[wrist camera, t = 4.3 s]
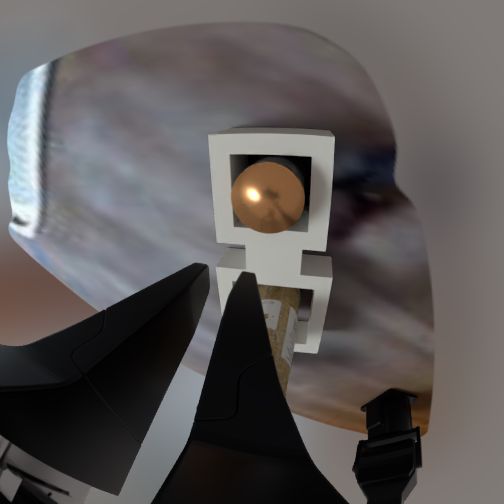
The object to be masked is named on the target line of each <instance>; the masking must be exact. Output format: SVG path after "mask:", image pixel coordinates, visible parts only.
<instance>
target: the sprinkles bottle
mask: <svg viewBox="0 0 504 504" xmlns="http://www.w3.org/2000/svg"><path fill="white" fill-rule="evenodd" d="M258 287H259V292H260V297H261V301H262V306H263V311H264V315H265V320H266V325H267V329H268V334H269V339H270V343H271V348H272V352H273V354H272V355H273V356H274V361H275V365H276V369H277V373H278V377H279V381H280V384H281V387H282V390H283V393H284V396H286V389H287V383H288V378H289V374H290V371H291V365H292V358H293V352H294V345H295V338H296V330H297V323H298V318H297V314H298V308H299V303H300V301H301V292H300V289H299V288H293V287H282V286H272V285H263V284H258Z"/></svg>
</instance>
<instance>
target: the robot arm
mask: <svg viewBox="0 0 504 504" xmlns="http://www.w3.org/2000/svg"><path fill="white" fill-rule="evenodd" d="M209 289H210V279H209V267H208V265H207V264H202V263H193V264H191V265H189V266H187V267H185V268H183V269H181V270H179V271H178V272H176V273H174V274H172V275H170V276H168V277H166V278H164V279H162V280H160V281H158V282H156V283H154V284H152V285H150V286H148V287H146V288H144V289H143V290H141V291H139V292H137V293H135V294H133V295H131V296H129V297H127V298H125V299H123V300H121V301H120V302H118V303H116V304H114V305H112V306H110V307H108V308H106V310H102V311H100V312H99V313H97V314H95V315H93V316H91V317H89V318H87V319H85V320H83V321H81V322H79V323H77V324H75V325H72V326H70V327H68V328H66V329H64V330H61V331H59V332H56V333H54V334H52V335H49V336H47V337H45V338H42V339H40V340H38V341H36V342H33V343H31V344H28V345H24V346H6V345H1V344H0V504H83V503H84V501H85V499H86V497H87V495H88V493H89V490H90V488H91V486H92V487H95V488H97V489H100V490H102V491H105V492H108V493H111V494H114V495H117V496H118V495H119V493H120V491H121V489H122V487H123V484H124V482H125V480H126V478H127V475H128V473H129V471H130V469H131V467H132V465H133V462H134V460H135V458H136V456H137V454H138V451H139V449H140V447H141V444H142V442H143V440H144V438H145V436H146V434H147V431H148V430H149V427H150V425H151V423H152V421H153V419H154V417H155V415H156V412H157V410H158V408H159V406H160V404H161V402H162V400H163V398H164V395H165V393H166V391H167V389H168V387H169V385H170V383H171V381H172V379H173V377H174V375H175V373H176V371H177V368H178V367H179V364H180V362H181V360H182V358H183V356H184V354H185V352H186V350H187V348H188V346H189V344H190V342H191V340H192V338H193V335H194V333H195V331H196V328H197V325H198V322H199V319H200V317H201V314H202V311H203V308H204V305H205V302H206V299H207V296H208V294H209ZM272 354H273V352H272V348H271V343H270V339H269V334H268V329H267V325H266V320H265V315H264V311H263V306H262V301H261V297H260V292H259V287H258V283H257V278H256V274H255V273H252V272H246V271H242V272H241V273H240V275H239V277H238V279H237V280H236V282H235V284H234V286H233V288H232V289H231V291H230V293H229V295H228V298H227V301H226V305H225V309H224V312H223V316H222V319H221V323H220V326H219V330H218V334H217V337H216V341H215V344H214V348H213V352H212V355H211V359H210V363H209V366H208V370H207V374H206V377H205V381H204V385H203V388H202V392H201V396H200V400H199V403H198V407H197V411H196V415H195V418H194V423H193V426H192V429H191V432H190V436H189V438H188V441H187V443H186V445H185V447H184V449H183V451H182V452H181V454H180V456H179V458H178V459H177V461H176V463H175V464H174V466H173V468H172V469H171V471H170V473H169V475H168V476H167V478H166V480H165V481H164V483H163V485H162V486H161V488H160V489H159V491H158V493H157V494H156V496H155V498H154V499H153V501H152V503H151V504H349V503H348V502H347V501H346V500H345V499H344V498H343V496H342V495H341V494H340V493H339V492H338V491H337V490H336V489H335V488H334V487H333V485H332V484H331V483H330V482H329V481H328V480H327V479H326V478H325V477H324V475H323V474H322V473H321V472H320V471H319V469H318V468H317V467H316V465H315V464H314V462H313V461H312V459H311V457H310V455H309V453H308V452H307V449H306V447H305V445H304V443H303V440H302V438H301V436H300V433H299V431H298V428H297V426H296V423H295V421H294V419H293V416H292V414H291V411H290V409H289V406H288V404H287V401H286V398H285V396H284V393H283V390H282V387H281V384H280V381H279V377H278V373H277V369H276V365H275V361H274V356H273V355H272ZM416 400H417V396H414V395H410V394H407V393H403V392H400V391H396V390H393V389H390V390H387V391H386V392H384V393H383V394H381V395H380V396H378V397H377V398H375V399H374V400H372V401H370V402H369V403H367V404H366V405H364V406H362V407H361V411H363V412H366V429H367V430H368V440H360V441H359V444H358V445H357V452H356V458H355V462H354V465H353V468H352V471H353V472H354V473H355V476H356V479H357V483H358V485H359V487H360V488H361V490H362V492H363V494H364V496H365V497H366V499H367V504H404V501H405V500H406V498H407V497H408V496H409V494H410V493H411V491H412V490H413V488H414V487H415V486H416V484H417V468H421V467H422V447H421V435H420V427H419V426H418V427H416V428H413V427H412V417H411V408H410V404H412V403H413V402H415V401H416ZM415 441H417V442H415Z"/></svg>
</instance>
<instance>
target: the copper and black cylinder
mask: <svg viewBox="0 0 504 504" xmlns="http://www.w3.org/2000/svg"><path fill="white" fill-rule="evenodd" d="M305 179H306V172H305V168H304V166H303V164H302V162H301V161H300V159H299V158H298V157H297V156H292V155H264V154H263V155H262V156H261V157H260V158H259V159H258V160H257V161H256V162H255V163H254V164H252V165H251V166H249V167H247V168H246V169H245V170H244V171H243V172H242V173H241V174H240V175H239V176H238V177H237V179H236V180H235V182H234V184H233V187H232V190H231V203H232V207H233V210H234V212H235V214H236V215H237V217H238V218H239V220H240V221H241V222H242V223H243V224H245V225H246V226H247V227H249V228H250V229H252V230H254V231H257V232H260V233H266V234H274V233H279V232H283V231H285V230H287V229H289V228H290V227H292V226H293V225H294V224H295V223H296V222H297V221H298V220H299V218H300V216H301V214H302V212H303V209H304V202H305V191H304V188H305Z"/></svg>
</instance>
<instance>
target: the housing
mask: <svg viewBox="0 0 504 504" xmlns="http://www.w3.org/2000/svg"><path fill="white" fill-rule="evenodd" d="M208 137H209V152H210V166H211V179H212V191H213V203H214V214H215V225H216V235H217V243H230V244H242V245H245V249H237V248H227V249H226V251H225V252H224V254H223V256H222V257H221V259H220V261H219V262H218V264H217V266H216V271H217V279H218V287H219V295H220V303H221V310H222V316H223V312H224V309H225V305H226V301H227V298H228V295H229V293H230V291H231V289H232V288H233V286H234V284H235V282H236V280H237V279H238V277H239V275H240V273H241V272H242V271H246V272H252V273H255V274H256V278H257V283H258V284H263V285H272V286H282V287H293V288H303V289H313V293H312V300H311V307H310V314H309V320H308V322H306V321H298V323H297V330H296V338H295V345H294V352H304V353H315V354H317V353H318V349H319V344H320V340H321V335H322V331H323V326H324V321H325V316H326V311H327V306H328V301H329V296H330V290H331V285H332V279H333V275H332V258H331V257H330V256H319V255H307V254H303V250H314V251H325V252H326V244H327V235H328V226H329V216H330V205H331V193H332V179H333V164H334V143H335V137H334V135H333V134H332V133H331V131H330V130H318V129H301V128H229V129H226V130H223V131H219V132H216V133H213V134H210V135H208ZM248 154H264V155H292V156H310V157H312V167H311V190H310V206H304V209H303V212H302V214H301V216H300V218H299V220H298V221H297V222H296V223H295V224H294V225H293V226H292V227H290V228H289V229H287V230H285V231H283V232H279V233H274V234H266V233H260V232H257V231H254V230H252V229H250V228H249V227H247V226H246V225H245V224H243V223H242V222H241V221H240V220H239V218H238V217H237V215H236V214H235V212H234V210H233V207H232V203H231V190H232V187H233V184H234V182H235V180H236V179H237V177H238V176H239V175H240V174H241V173H242V172H243V171H244V170H245V169H246V168H247V167H248Z"/></svg>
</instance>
